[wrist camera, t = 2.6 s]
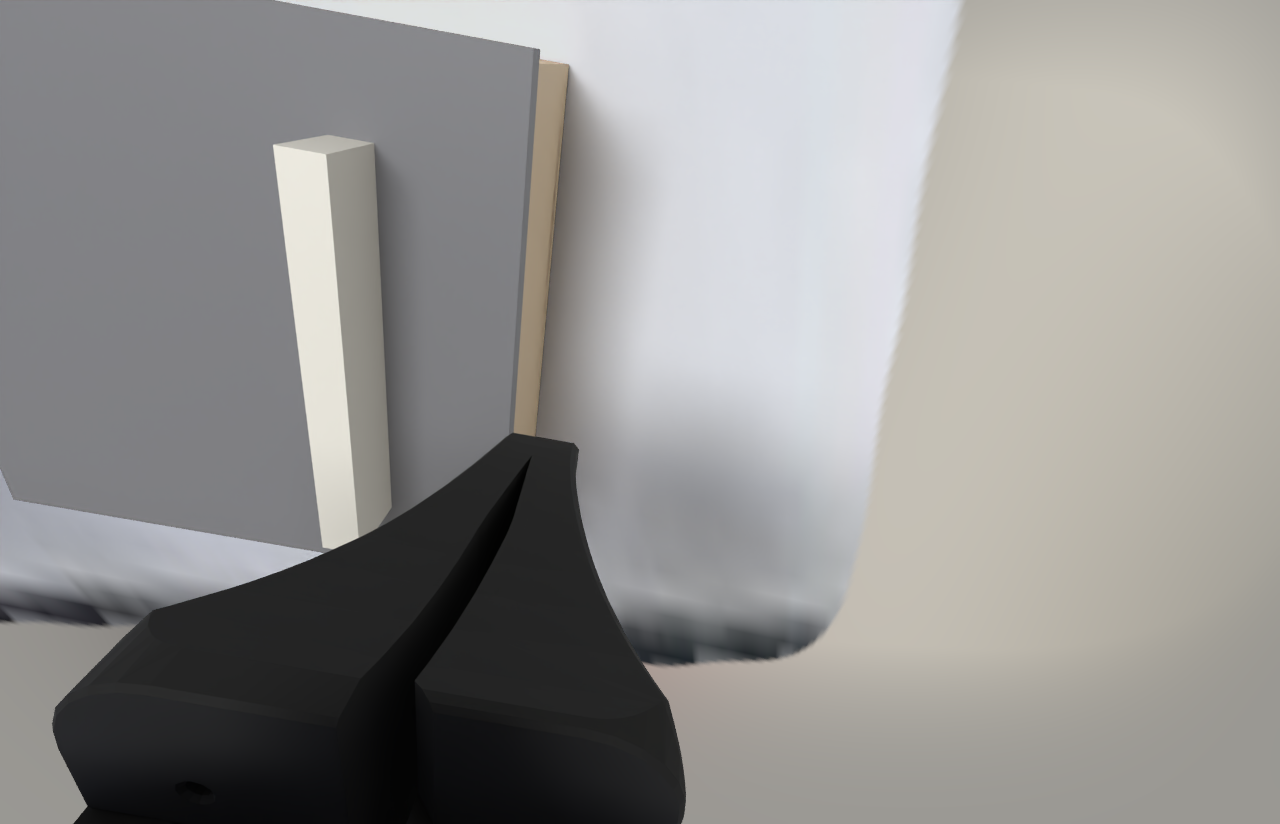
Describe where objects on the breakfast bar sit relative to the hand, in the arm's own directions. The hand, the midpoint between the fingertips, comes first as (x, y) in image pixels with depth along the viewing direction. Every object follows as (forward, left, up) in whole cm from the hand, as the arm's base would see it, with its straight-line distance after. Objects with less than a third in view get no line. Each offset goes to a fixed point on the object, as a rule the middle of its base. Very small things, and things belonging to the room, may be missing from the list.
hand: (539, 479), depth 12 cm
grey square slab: (-9, 0, -6) cm, 11 cm away
